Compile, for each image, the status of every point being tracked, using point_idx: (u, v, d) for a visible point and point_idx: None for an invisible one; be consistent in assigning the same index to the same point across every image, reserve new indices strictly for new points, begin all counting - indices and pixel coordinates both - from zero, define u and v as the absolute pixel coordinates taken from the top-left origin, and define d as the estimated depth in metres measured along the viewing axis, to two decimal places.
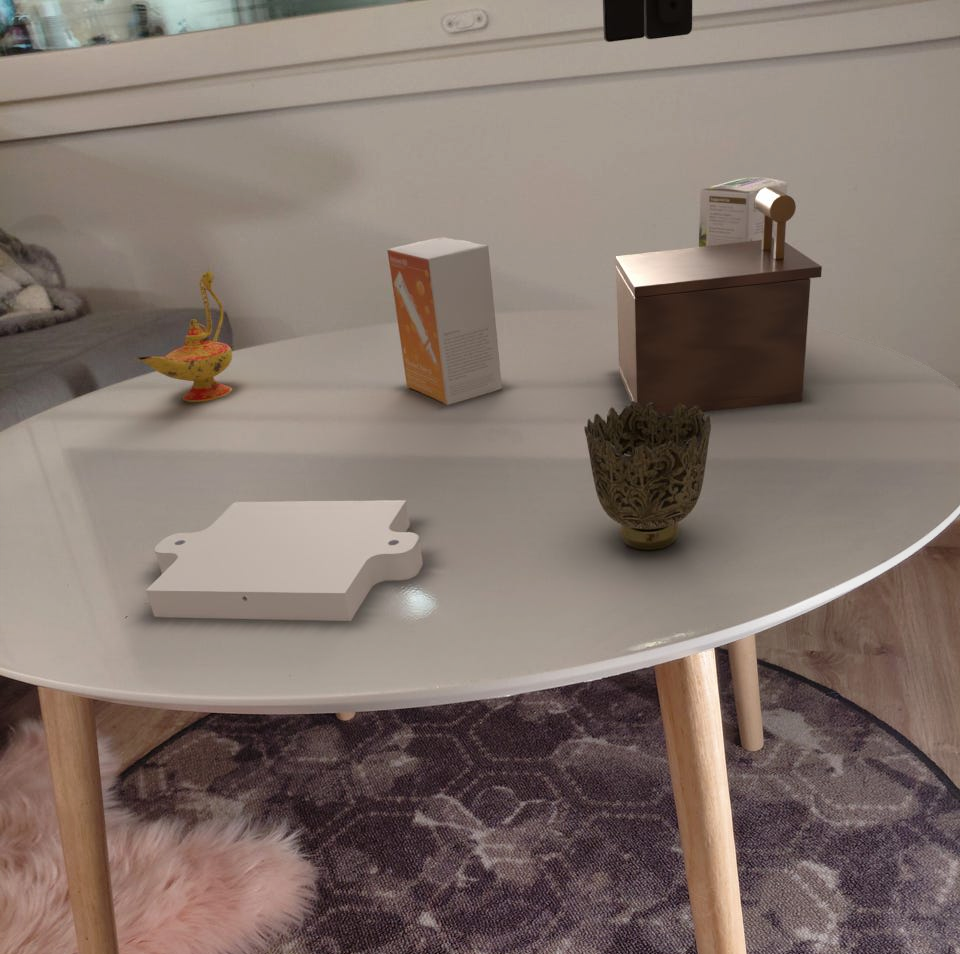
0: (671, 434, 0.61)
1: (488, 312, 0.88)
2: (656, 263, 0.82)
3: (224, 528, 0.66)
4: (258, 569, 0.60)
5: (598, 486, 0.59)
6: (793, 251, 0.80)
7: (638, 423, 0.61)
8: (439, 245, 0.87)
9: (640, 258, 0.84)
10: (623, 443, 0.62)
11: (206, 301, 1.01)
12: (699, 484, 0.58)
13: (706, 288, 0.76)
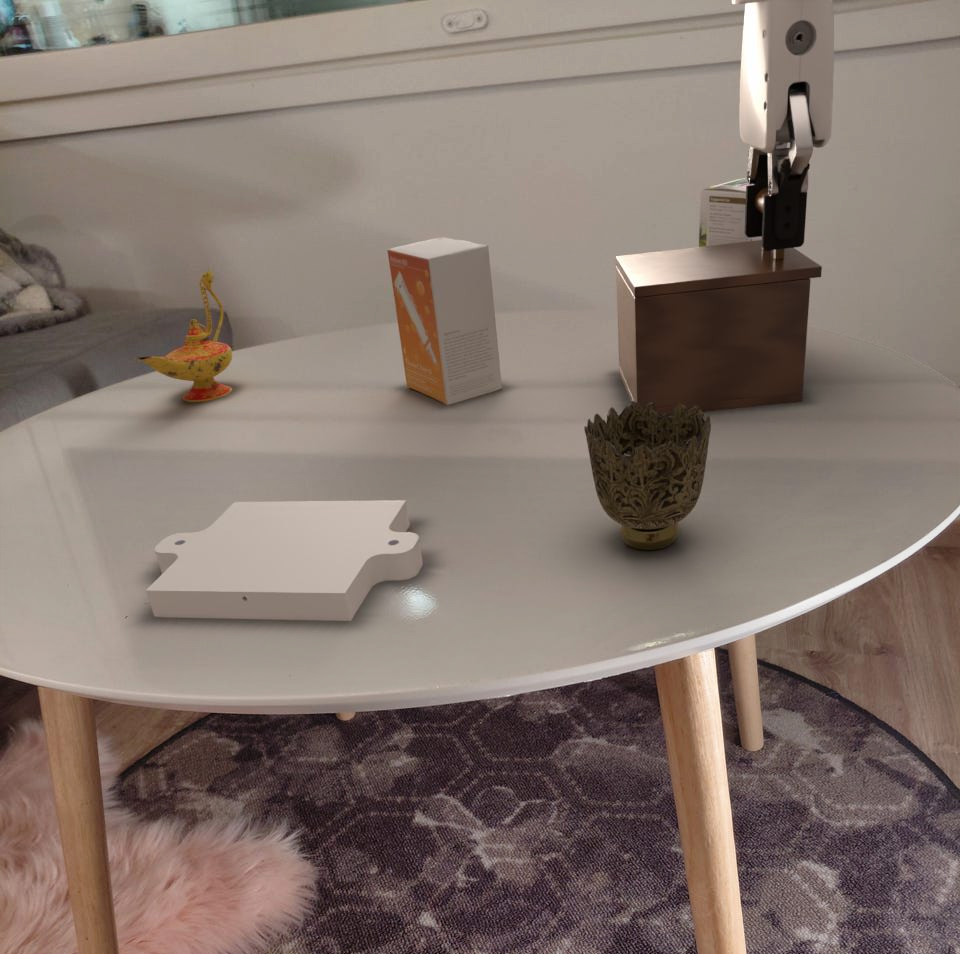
0: (671, 434, 0.61)
1: (488, 312, 0.88)
2: (656, 263, 0.82)
3: (224, 528, 0.66)
4: (258, 569, 0.60)
5: (598, 486, 0.59)
6: (793, 251, 0.80)
7: (638, 423, 0.61)
8: (439, 245, 0.87)
9: (640, 258, 0.84)
10: (623, 443, 0.62)
11: (206, 301, 1.01)
12: (699, 484, 0.58)
13: (706, 288, 0.76)
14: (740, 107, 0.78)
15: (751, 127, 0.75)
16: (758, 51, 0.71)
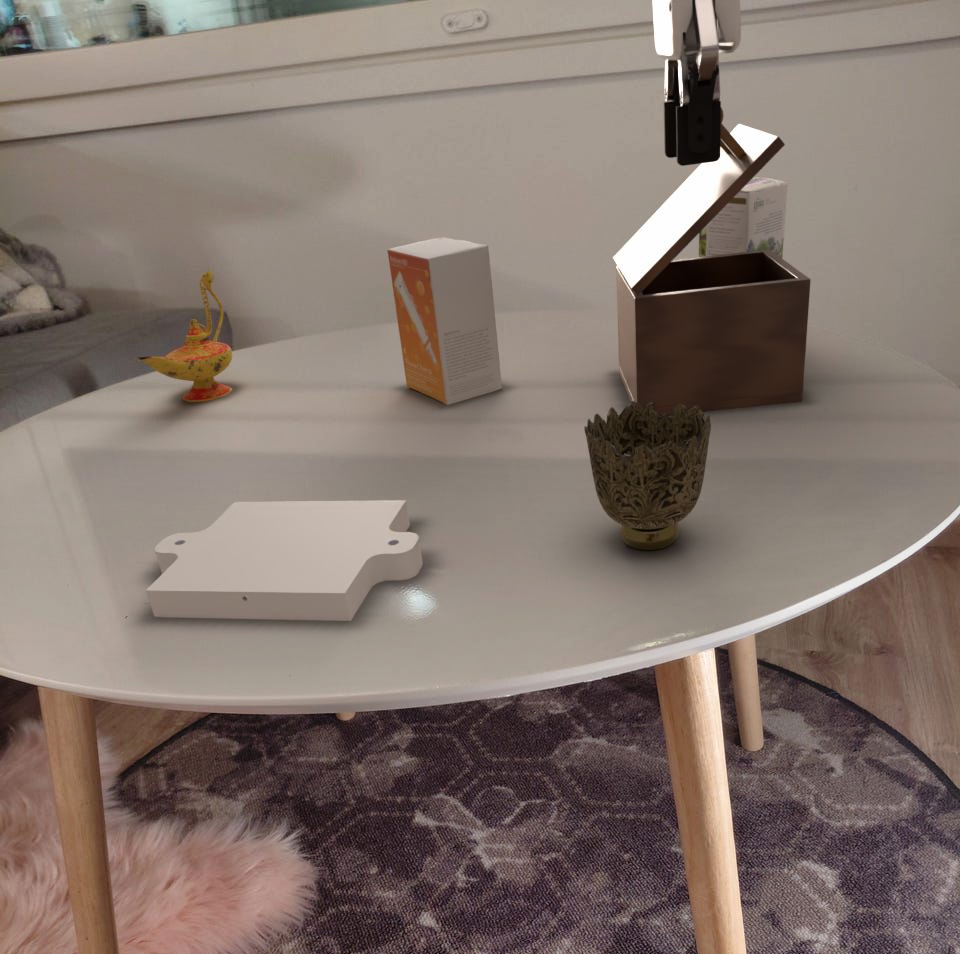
0: (671, 434, 0.61)
1: (488, 312, 0.88)
2: (644, 242, 0.81)
3: (224, 528, 0.66)
4: (258, 569, 0.60)
5: (598, 486, 0.59)
6: (752, 133, 0.76)
7: (638, 423, 0.61)
8: (439, 245, 0.87)
9: (631, 245, 0.84)
10: (623, 443, 0.62)
11: (206, 301, 1.01)
12: (699, 484, 0.58)
13: (691, 239, 0.74)
14: (653, 18, 0.75)
15: (661, 35, 0.72)
16: None
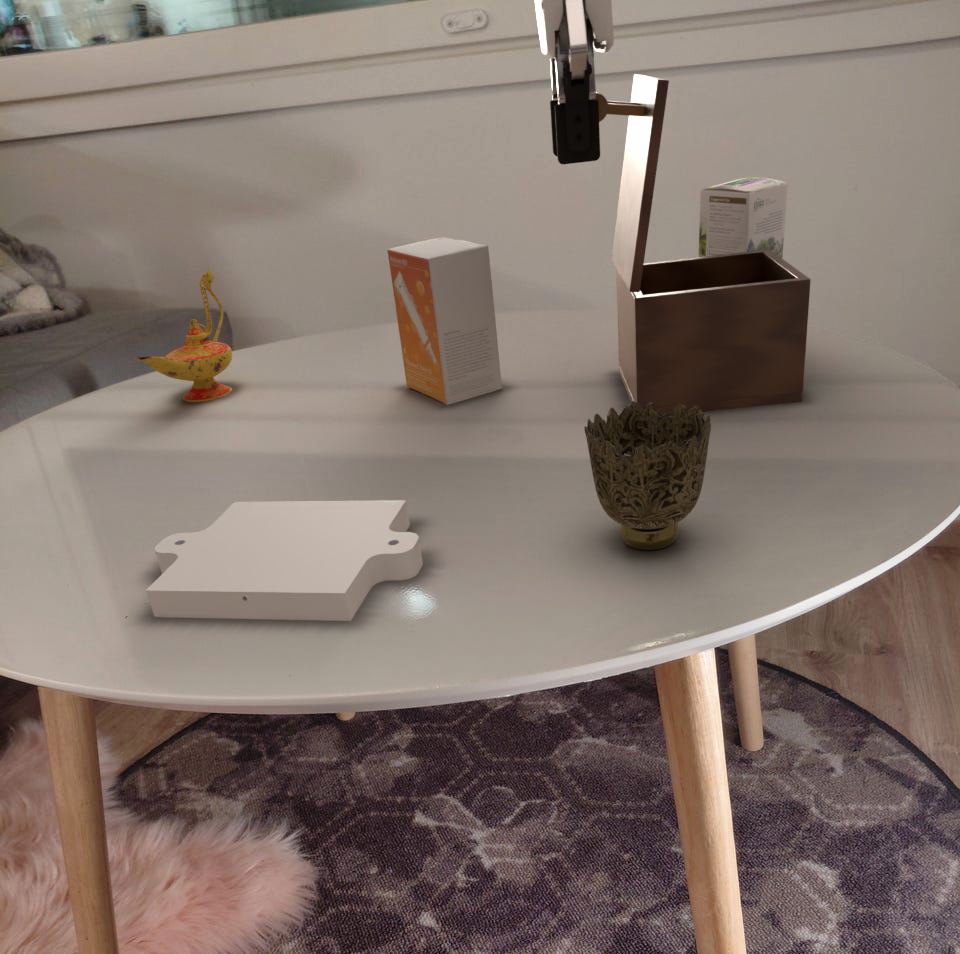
0: (671, 434, 0.61)
1: (488, 312, 0.88)
2: (622, 235, 0.81)
3: (224, 528, 0.66)
4: (258, 569, 0.60)
5: (598, 486, 0.59)
6: (643, 83, 0.74)
7: (638, 423, 0.61)
8: (439, 245, 0.87)
9: (616, 242, 0.84)
10: (623, 443, 0.62)
11: (206, 301, 1.01)
12: (699, 484, 0.58)
13: (649, 215, 0.73)
14: None
15: (540, 33, 0.72)
16: None
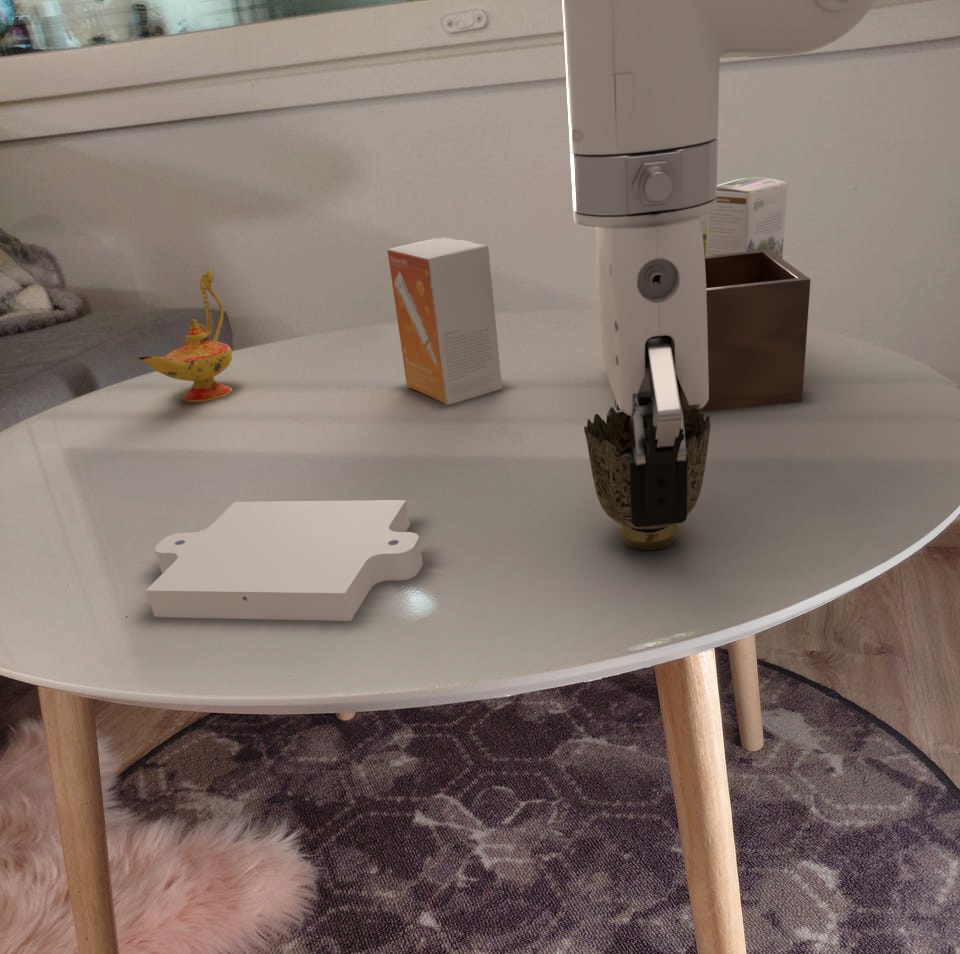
0: None
1: (488, 312, 0.88)
2: None
3: (224, 528, 0.66)
4: (258, 569, 0.60)
5: (598, 486, 0.59)
6: None
7: None
8: (439, 245, 0.87)
9: None
10: (623, 443, 0.62)
11: (206, 301, 1.01)
12: (699, 484, 0.58)
13: None
14: None
15: (608, 372, 0.56)
16: (606, 287, 0.52)
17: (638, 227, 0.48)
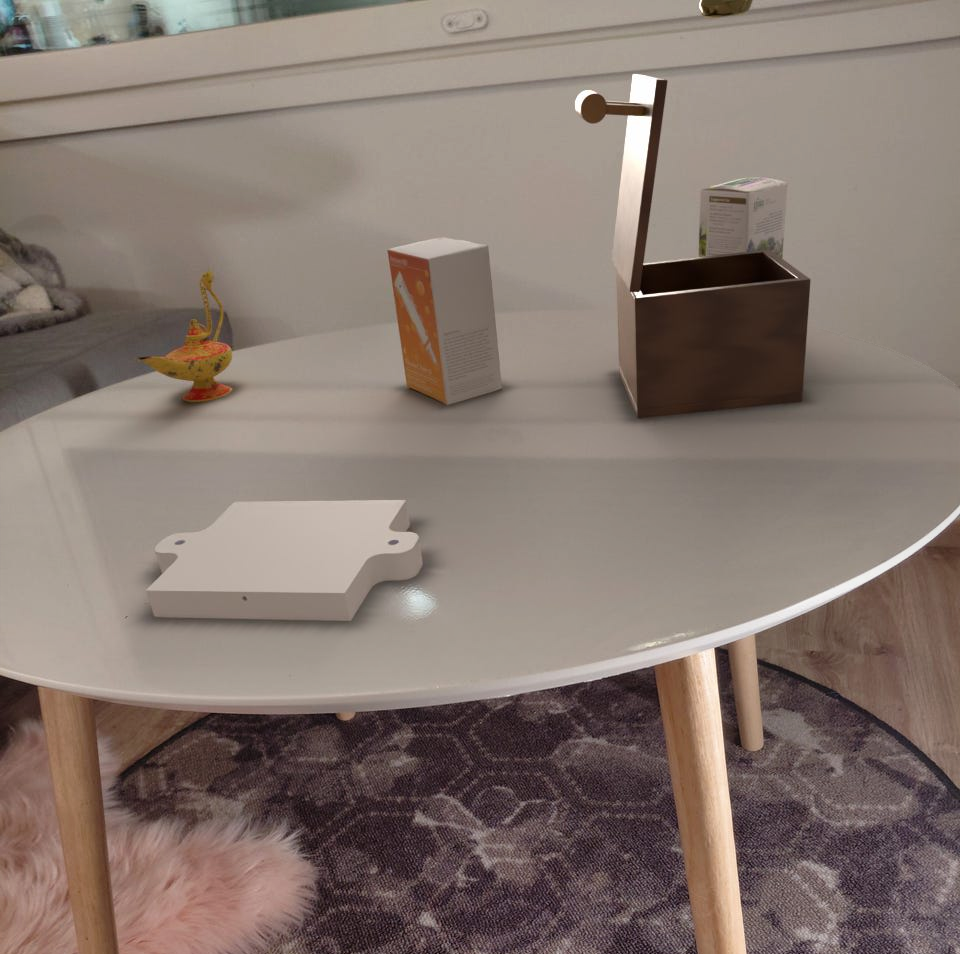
0: None
1: (488, 312, 0.88)
2: (622, 235, 0.81)
3: (224, 528, 0.66)
4: (258, 568, 0.60)
5: None
6: (642, 83, 0.74)
7: None
8: (439, 245, 0.87)
9: (616, 242, 0.84)
10: None
11: (206, 301, 1.01)
12: None
13: (648, 215, 0.73)
14: None
15: None
16: None
17: None
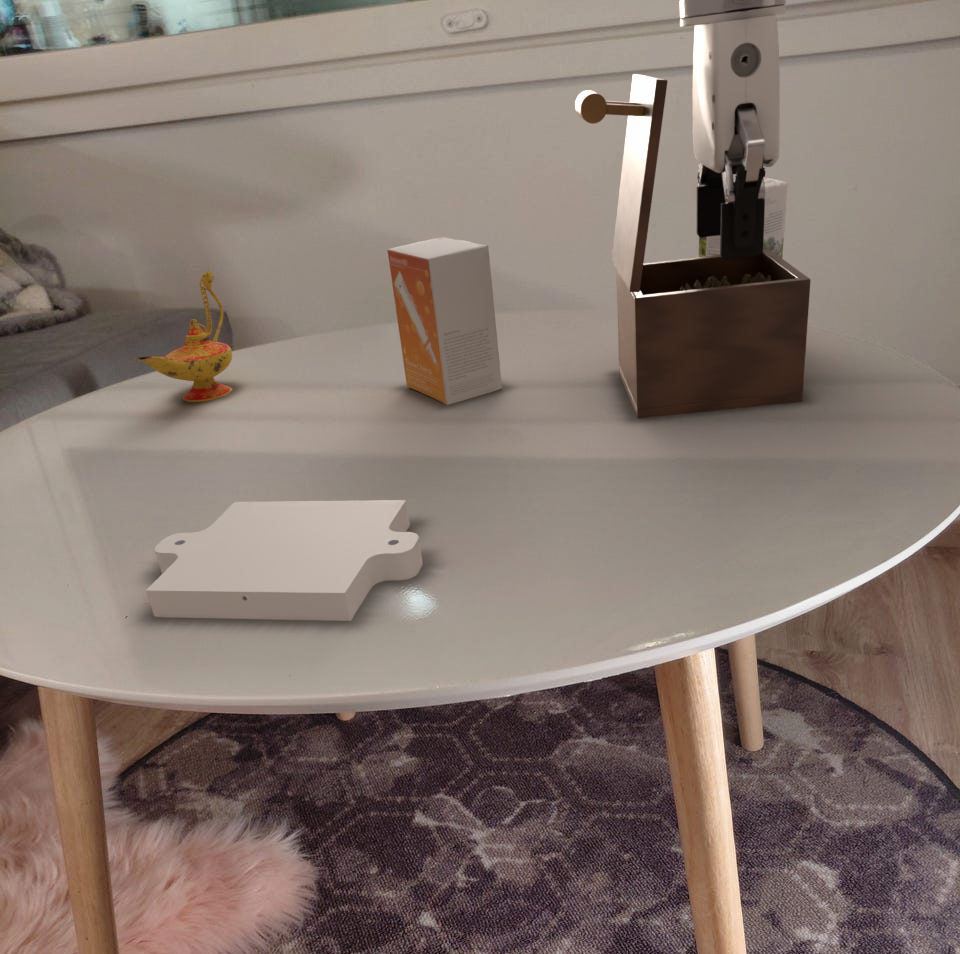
0: None
1: (488, 312, 0.88)
2: (622, 235, 0.81)
3: (224, 528, 0.66)
4: (258, 568, 0.60)
5: None
6: (642, 83, 0.74)
7: None
8: (439, 245, 0.87)
9: (616, 242, 0.84)
10: None
11: (206, 301, 1.01)
12: None
13: (648, 215, 0.73)
14: (693, 126, 0.78)
15: (702, 147, 0.76)
16: (705, 73, 0.71)
17: (732, 20, 0.68)
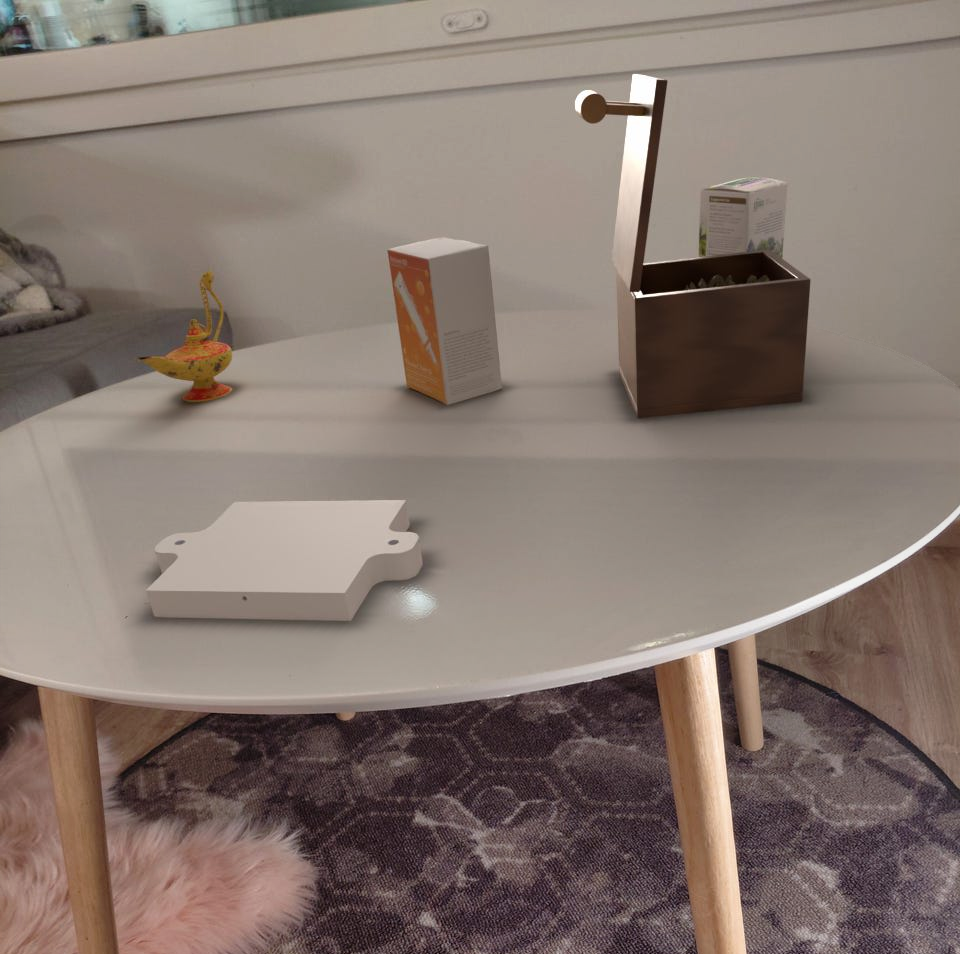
0: None
1: (488, 312, 0.88)
2: (622, 235, 0.81)
3: (224, 528, 0.66)
4: (258, 568, 0.60)
5: None
6: (642, 83, 0.74)
7: None
8: (439, 245, 0.87)
9: (616, 242, 0.84)
10: None
11: (206, 301, 1.01)
12: None
13: (648, 215, 0.73)
14: None
15: None
16: None
17: None
